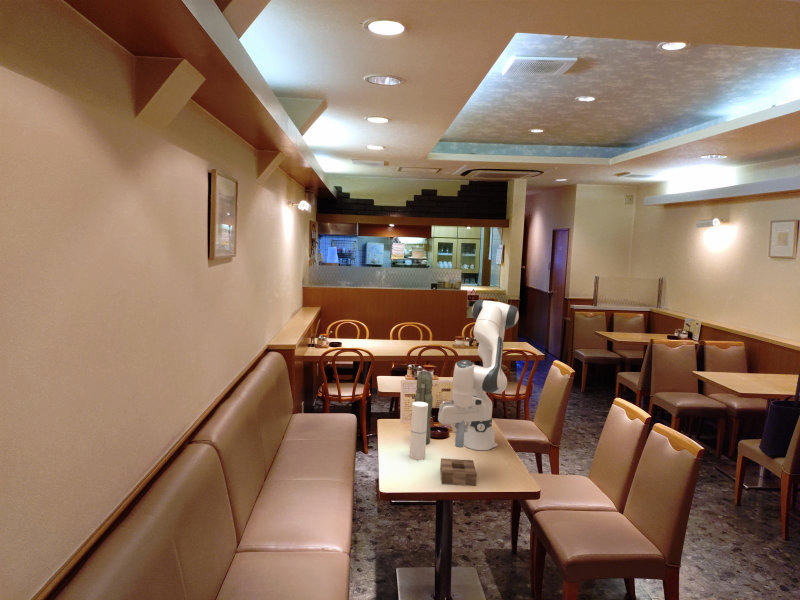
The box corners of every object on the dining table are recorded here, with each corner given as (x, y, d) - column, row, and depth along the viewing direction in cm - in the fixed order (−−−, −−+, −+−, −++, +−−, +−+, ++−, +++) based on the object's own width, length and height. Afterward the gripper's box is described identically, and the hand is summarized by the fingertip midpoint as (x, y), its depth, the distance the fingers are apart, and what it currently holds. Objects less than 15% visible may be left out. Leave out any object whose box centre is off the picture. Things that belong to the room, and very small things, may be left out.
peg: (454, 444, 230) (456, 416, 229) (462, 444, 230) (464, 417, 229) (455, 447, 226) (457, 419, 225) (464, 447, 226) (466, 420, 225)
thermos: (411, 445, 262) (415, 374, 258) (412, 436, 274) (416, 368, 270) (430, 446, 262) (434, 376, 258) (430, 437, 274) (434, 370, 270)
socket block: (440, 469, 237) (440, 458, 236) (472, 471, 237) (473, 460, 236) (441, 483, 223) (442, 472, 222) (475, 485, 223) (476, 474, 222)
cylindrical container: (407, 458, 247) (410, 404, 244) (412, 452, 254) (415, 400, 251) (421, 461, 244) (425, 407, 242) (427, 455, 251) (430, 403, 248)
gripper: (443, 403, 219) (441, 436, 221) (487, 400, 227) (484, 432, 228) (436, 399, 225) (434, 431, 227) (479, 396, 233) (477, 427, 234)
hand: (460, 431), depth 228 cm, fingers closed on peg, 4 cm apart
